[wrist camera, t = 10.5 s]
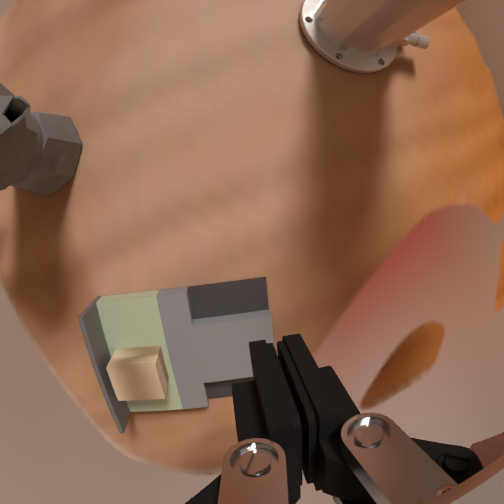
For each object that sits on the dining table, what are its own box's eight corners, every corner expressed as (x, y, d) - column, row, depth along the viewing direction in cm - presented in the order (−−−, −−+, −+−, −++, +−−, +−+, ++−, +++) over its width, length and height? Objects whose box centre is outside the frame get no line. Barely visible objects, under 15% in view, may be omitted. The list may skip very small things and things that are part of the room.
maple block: (160, 345, 30) (155, 364, 26) (168, 377, 31) (165, 398, 27) (115, 348, 29) (106, 367, 25) (125, 379, 30) (118, 400, 26)
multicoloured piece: (265, 277, 32) (277, 295, 26) (274, 387, 35) (285, 418, 29) (97, 296, 30) (77, 317, 24) (129, 402, 33) (119, 433, 27)
